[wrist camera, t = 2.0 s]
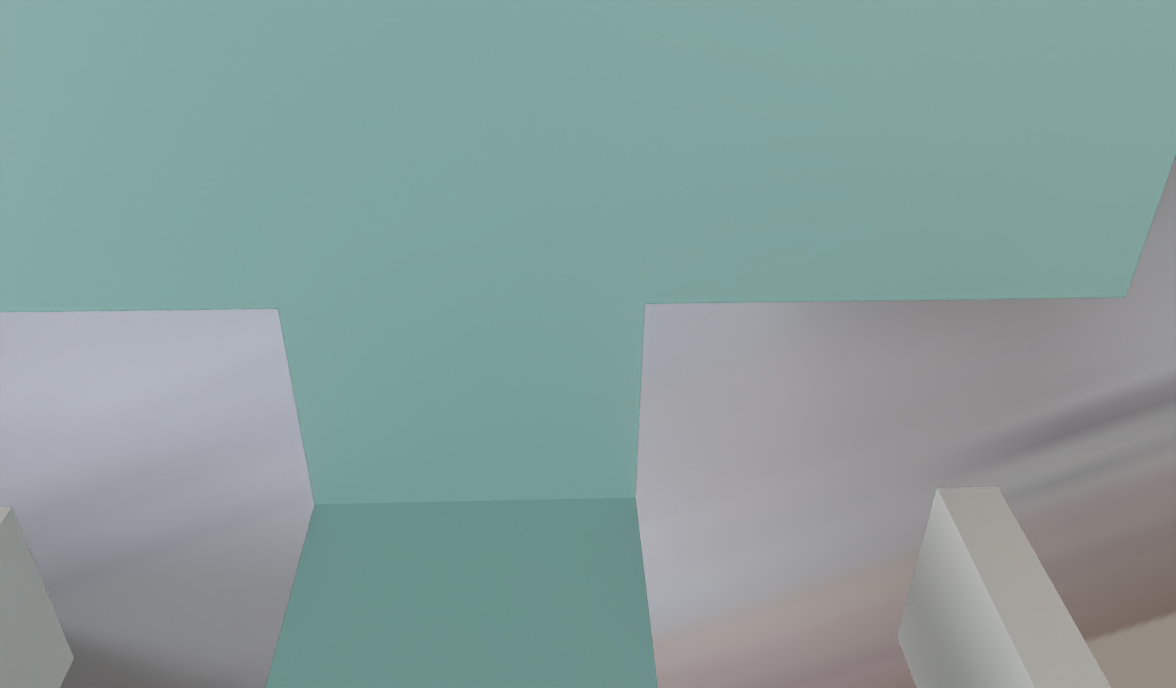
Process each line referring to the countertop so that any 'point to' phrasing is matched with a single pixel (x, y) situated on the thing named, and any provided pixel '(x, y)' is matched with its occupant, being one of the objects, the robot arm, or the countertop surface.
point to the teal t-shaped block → (547, 246)
